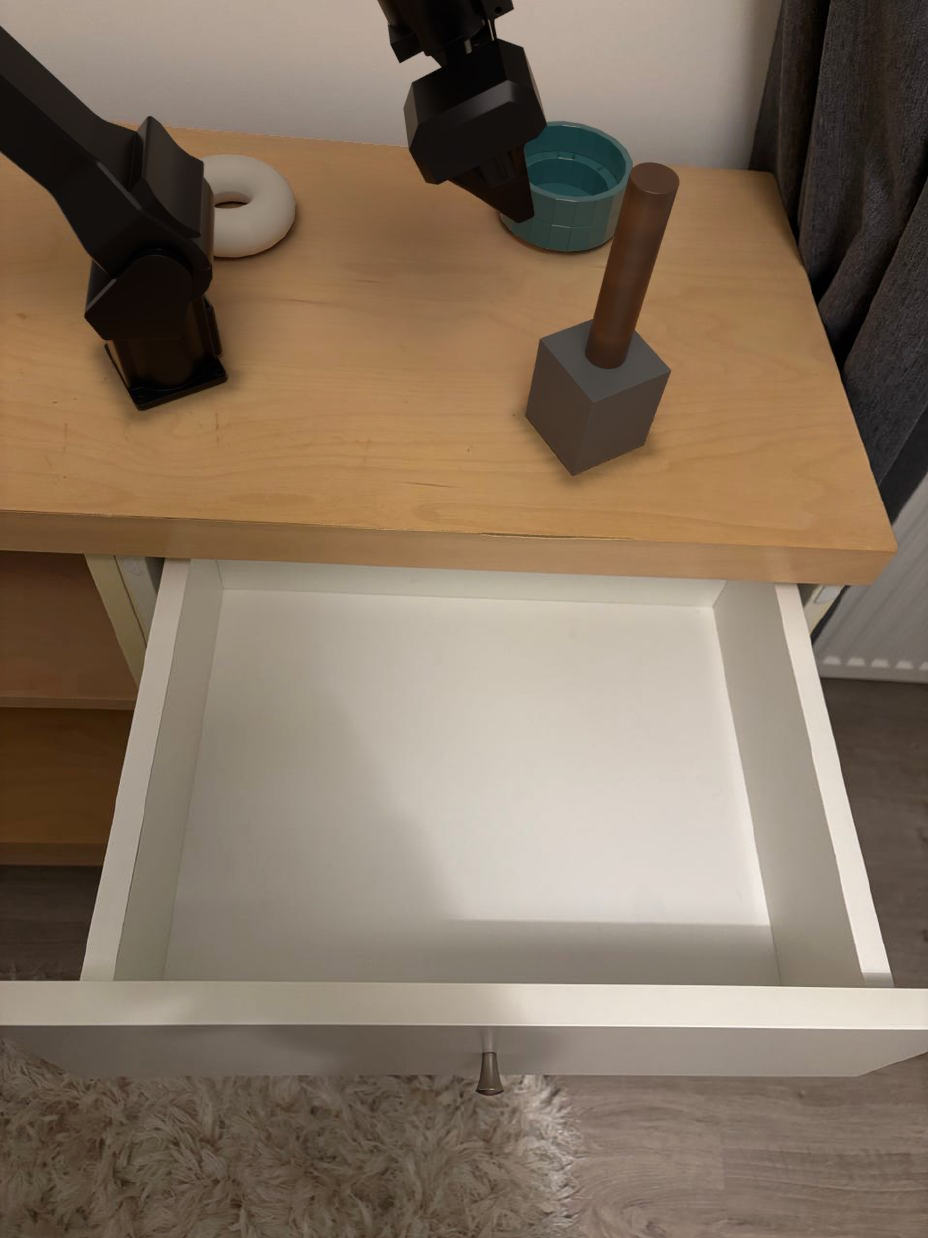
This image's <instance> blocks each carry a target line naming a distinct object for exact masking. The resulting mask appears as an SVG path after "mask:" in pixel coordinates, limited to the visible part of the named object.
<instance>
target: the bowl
mask: <svg viewBox="0 0 928 1238" xmlns="http://www.w3.org/2000/svg"><path fill="white" fill-rule="evenodd" d="M524 152H525V158H526V164H527V170H528V176H529V182H530V188H531V193H532V199H533V205H534V211H535V216H534V217H533V218H531V219H529V220H527V221H524V222H522V223H519V224H518V223H515V222H514V221H512V220H511V219H509V218H508V217H506V216H505V215H503V214H502V213H500V212H499V211H498V212H499V216H500V219H501V222H502V223H503V224H505V226H506V227H507V228H508V229H509V230H510V232H511V233H512V234H514V235H515V236H517V237H518V238H519V239H521V240H523V241H525V242H527V243H528V244H531V245H534V246H536V247H540V248H543V249H546V250H552V251H560V252H567V253H568V252H578V251H588V250H591V249H593V248H597V247H599V246H602V245H603V244H604V243H606V242H607V241H609V240H610V239H611V238H613V237H614V233H615V229H616V225H617V221H618V217H619V213H620V209H621V205H622V201H623V197H624V193H625V189H626V185H627V181H628V177H629V173H630V171H631V169H632V168H633V167H634V161H633V159H632V157H631V155H630V153H629V151H628V149H627V148H626V147H625V146H624V145H623V144H622V143H621V142H620V141H619V140H618V139H617V138H615V137H614V136H612V135H610V134H608V133H607V132H605V131H603V130H602V129H599V128H596V127H594V126H591V125H588V124H584V123H581V122H573V121H566V120H564V121H563V120H554V121H553V120H552V121H547V126H546V127H545V129H544V130H543V131H542V133H541V134H540V135H539V137H538V138H536V139H534V140H532V141H530V142H528V143H526V145H525V147H524Z"/></svg>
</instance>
